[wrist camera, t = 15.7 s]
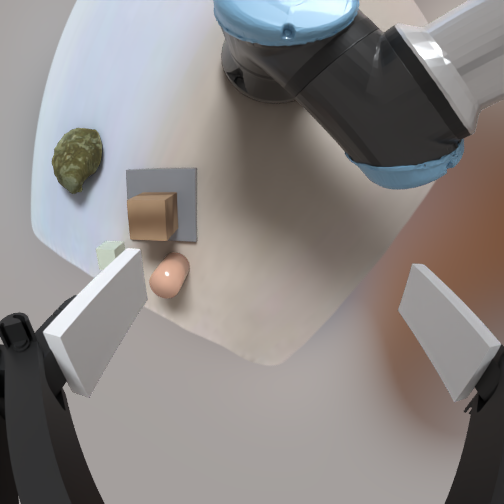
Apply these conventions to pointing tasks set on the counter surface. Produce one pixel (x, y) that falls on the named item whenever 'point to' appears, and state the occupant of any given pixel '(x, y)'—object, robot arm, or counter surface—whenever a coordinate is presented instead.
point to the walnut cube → (153, 215)
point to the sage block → (108, 252)
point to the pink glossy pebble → (169, 275)
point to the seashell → (77, 158)
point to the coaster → (170, 182)
